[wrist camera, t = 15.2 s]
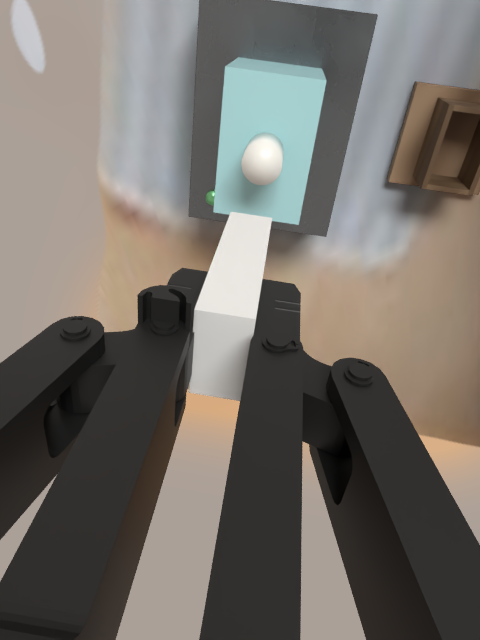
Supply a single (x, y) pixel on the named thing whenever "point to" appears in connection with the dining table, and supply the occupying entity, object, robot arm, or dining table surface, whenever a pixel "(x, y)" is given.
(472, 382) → the dining table surface
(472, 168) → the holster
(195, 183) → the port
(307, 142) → the teal and white block
